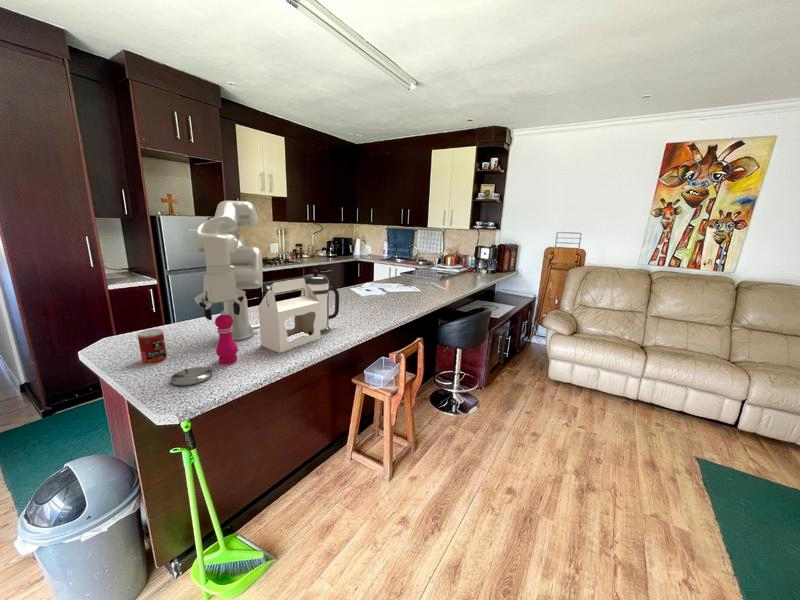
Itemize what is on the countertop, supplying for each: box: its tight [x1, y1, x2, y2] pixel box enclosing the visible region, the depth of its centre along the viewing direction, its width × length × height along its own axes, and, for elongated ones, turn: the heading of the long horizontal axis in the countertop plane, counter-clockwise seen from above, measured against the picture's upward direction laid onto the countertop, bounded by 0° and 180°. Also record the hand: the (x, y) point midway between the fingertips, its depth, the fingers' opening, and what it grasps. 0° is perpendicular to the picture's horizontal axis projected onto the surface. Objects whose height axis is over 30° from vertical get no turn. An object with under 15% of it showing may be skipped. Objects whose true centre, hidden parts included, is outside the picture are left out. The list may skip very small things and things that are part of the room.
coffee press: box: [302, 269, 340, 335], centre depth 161 cm, size 17×16×30 cm
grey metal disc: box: [170, 366, 213, 388], centre depth 113 cm, size 12×12×2 cm
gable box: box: [258, 277, 321, 354], centre depth 145 cm, size 22×13×28 cm, turn 145°
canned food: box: [137, 328, 168, 365], centre depth 125 cm, size 8×8×11 cm
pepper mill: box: [214, 310, 239, 366], centre depth 124 cm, size 7×7×20 cm
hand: (223, 316), depth 122 cm, fingers open, 9 cm apart
